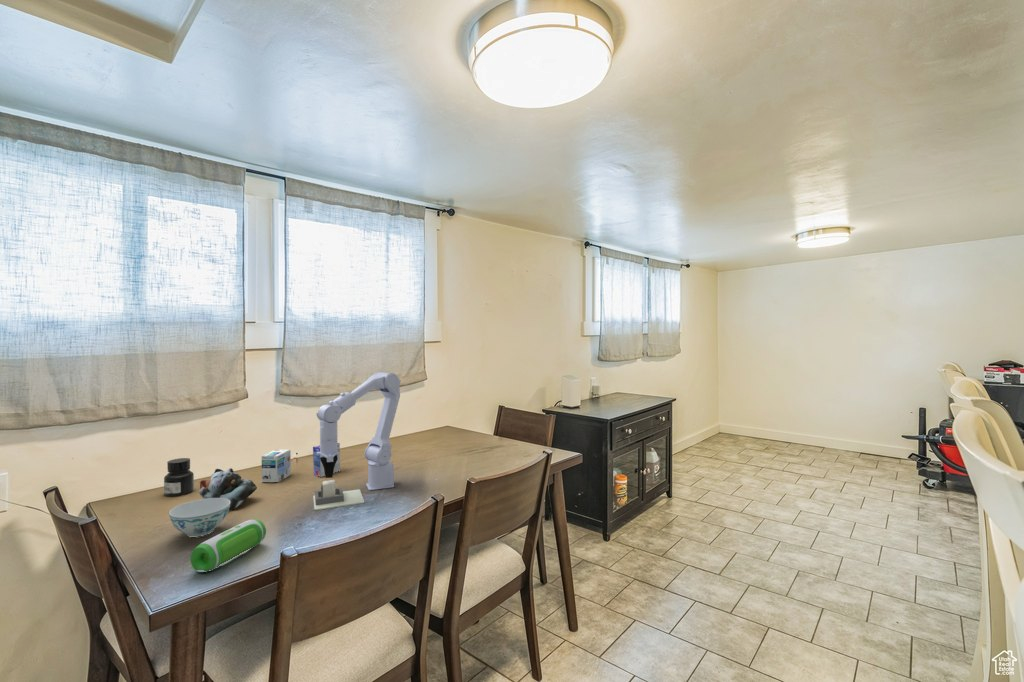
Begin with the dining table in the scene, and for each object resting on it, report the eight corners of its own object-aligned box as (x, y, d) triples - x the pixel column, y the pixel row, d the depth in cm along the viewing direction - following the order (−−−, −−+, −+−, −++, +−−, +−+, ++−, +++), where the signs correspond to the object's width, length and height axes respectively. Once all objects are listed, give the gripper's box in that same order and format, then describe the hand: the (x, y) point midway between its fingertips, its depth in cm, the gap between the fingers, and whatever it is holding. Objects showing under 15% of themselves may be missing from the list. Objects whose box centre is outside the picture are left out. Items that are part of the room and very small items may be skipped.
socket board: (359, 490, 171) (359, 483, 171) (364, 503, 158) (364, 496, 158) (313, 497, 164) (313, 490, 164) (314, 510, 151) (314, 503, 151)
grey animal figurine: (229, 514, 148) (205, 478, 146) (208, 522, 153) (184, 488, 151) (265, 486, 162) (243, 454, 160) (244, 495, 167) (223, 463, 165)
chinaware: (162, 548, 125) (161, 520, 125) (177, 527, 139) (177, 502, 138) (225, 538, 131) (225, 512, 131) (234, 519, 145) (234, 495, 144)
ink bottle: (158, 494, 167) (158, 461, 167) (185, 487, 175) (184, 456, 175) (172, 498, 162) (172, 465, 162) (199, 491, 170) (199, 459, 170)
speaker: (246, 541, 129) (246, 515, 129) (267, 544, 127) (267, 518, 127) (188, 573, 112) (188, 543, 112) (212, 577, 110) (212, 546, 110)
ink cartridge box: (333, 469, 198) (332, 436, 197) (341, 471, 195) (341, 437, 194) (312, 475, 189) (312, 440, 189) (320, 477, 186) (320, 442, 186)
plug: (334, 496, 163) (334, 479, 163) (335, 500, 160) (335, 483, 160) (320, 498, 162) (320, 481, 161) (321, 502, 158) (321, 484, 158)
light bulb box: (277, 483, 179) (277, 456, 179) (260, 483, 180) (260, 455, 179) (291, 474, 190) (291, 449, 190) (275, 474, 190) (275, 449, 190)
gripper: (315, 435, 165) (316, 472, 166) (317, 444, 152) (317, 484, 152) (336, 434, 168) (336, 470, 168) (339, 442, 155) (339, 482, 155)
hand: (329, 477), depth 161 cm, fingers closed
